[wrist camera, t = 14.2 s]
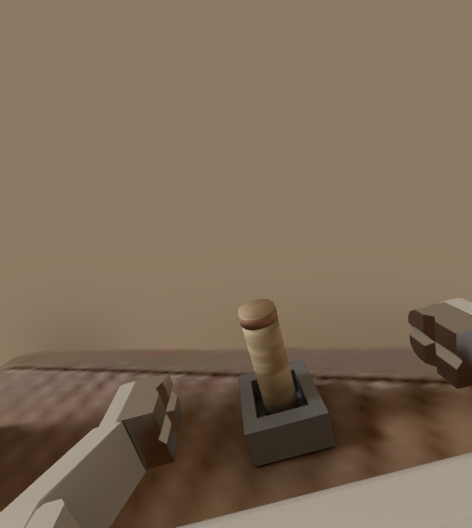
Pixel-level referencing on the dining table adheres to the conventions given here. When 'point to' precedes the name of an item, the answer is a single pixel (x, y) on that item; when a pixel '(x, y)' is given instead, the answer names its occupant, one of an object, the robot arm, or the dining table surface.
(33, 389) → the dining table surface
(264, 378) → the dowel
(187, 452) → the dining table surface
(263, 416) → the square socket block
